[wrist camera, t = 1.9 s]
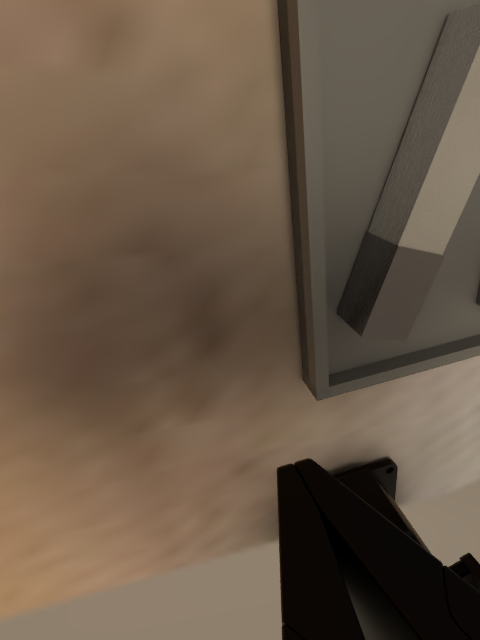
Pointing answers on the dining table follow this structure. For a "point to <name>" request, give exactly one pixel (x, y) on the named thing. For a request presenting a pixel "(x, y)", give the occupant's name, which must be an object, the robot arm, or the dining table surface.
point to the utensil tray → (364, 182)
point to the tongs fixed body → (478, 295)
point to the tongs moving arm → (421, 190)
